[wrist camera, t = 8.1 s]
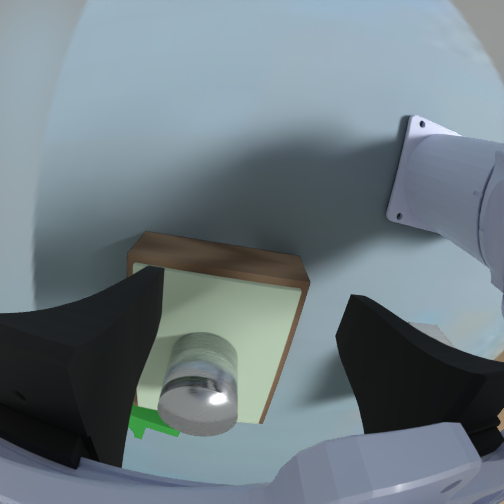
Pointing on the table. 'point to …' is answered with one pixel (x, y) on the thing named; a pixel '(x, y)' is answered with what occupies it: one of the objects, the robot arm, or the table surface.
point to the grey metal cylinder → (200, 385)
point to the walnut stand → (223, 310)
